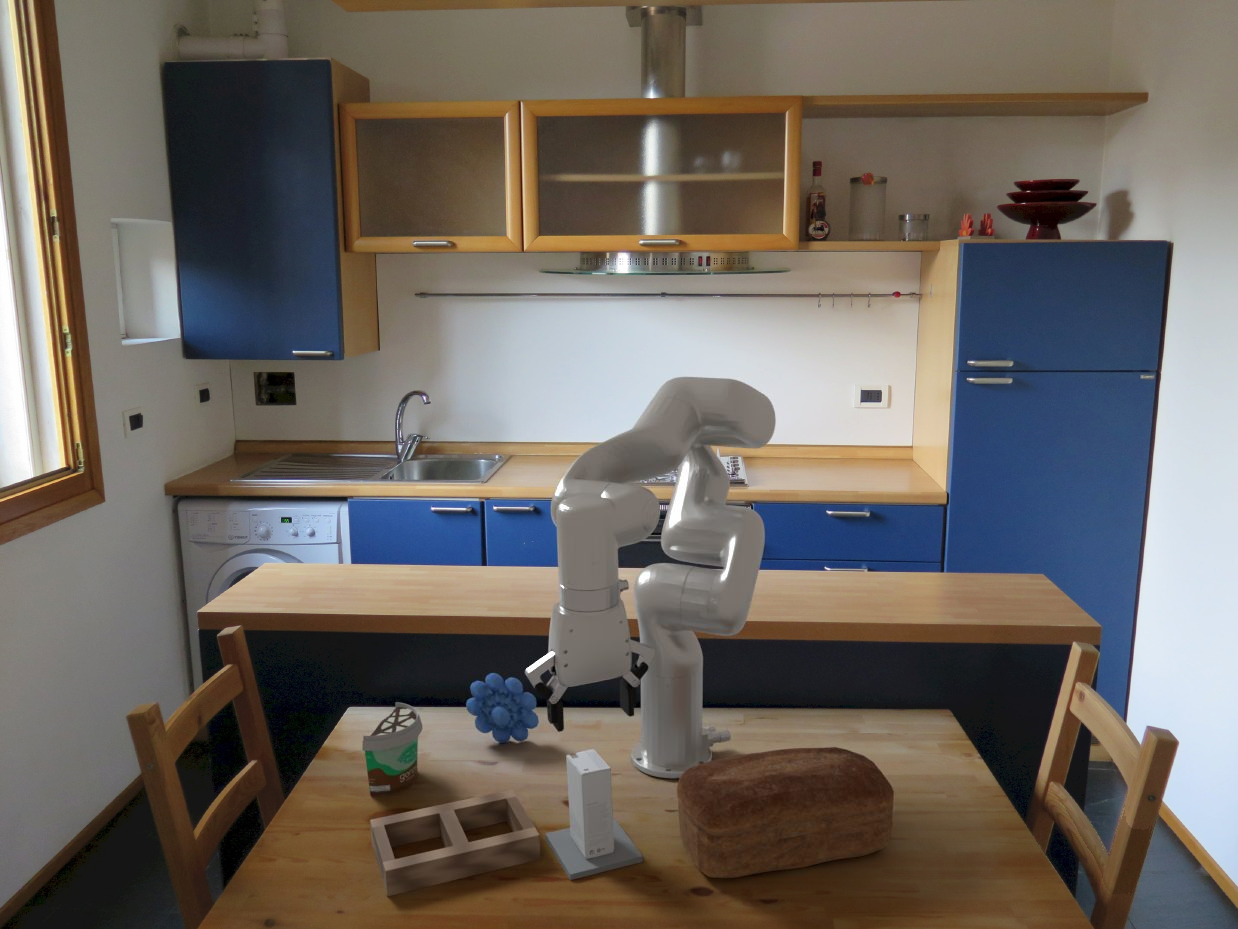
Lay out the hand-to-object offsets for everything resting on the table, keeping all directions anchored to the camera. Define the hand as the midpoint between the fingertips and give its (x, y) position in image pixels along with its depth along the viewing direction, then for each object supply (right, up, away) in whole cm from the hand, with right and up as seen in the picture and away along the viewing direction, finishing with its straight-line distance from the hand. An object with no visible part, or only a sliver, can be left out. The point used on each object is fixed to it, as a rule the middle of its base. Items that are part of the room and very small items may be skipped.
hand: (592, 719), depth 129 cm
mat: (0, -18, +3) cm, 18 cm away
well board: (-18, -18, +3) cm, 26 cm away
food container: (-29, -15, +21) cm, 39 cm away
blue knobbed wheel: (-15, -13, +32) cm, 38 cm away
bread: (+25, -18, +4) cm, 31 cm away
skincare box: (0, -18, +3) cm, 18 cm away
